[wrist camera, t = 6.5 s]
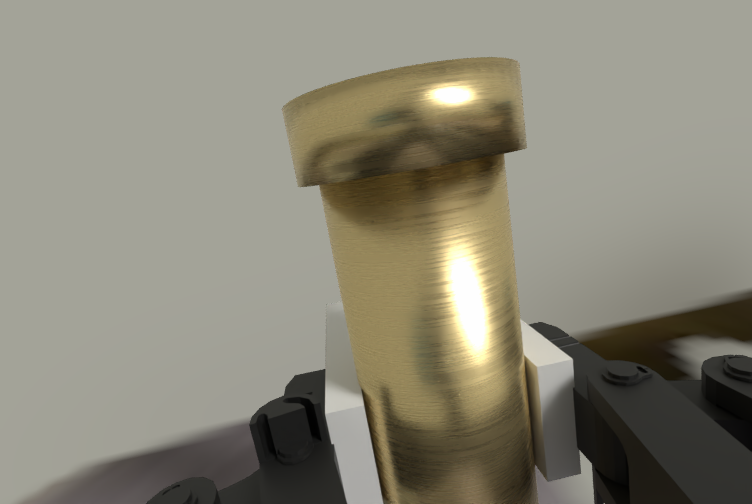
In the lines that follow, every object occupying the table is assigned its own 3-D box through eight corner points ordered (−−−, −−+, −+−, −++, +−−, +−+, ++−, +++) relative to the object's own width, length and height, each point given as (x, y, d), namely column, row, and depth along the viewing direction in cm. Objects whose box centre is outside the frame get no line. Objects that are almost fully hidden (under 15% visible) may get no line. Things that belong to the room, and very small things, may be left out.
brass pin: (526, 600, 13) (469, 95, 10) (619, 801, 9) (574, 40, 6) (397, 635, 13) (292, 124, 10) (430, 861, 9) (264, 87, 5)
